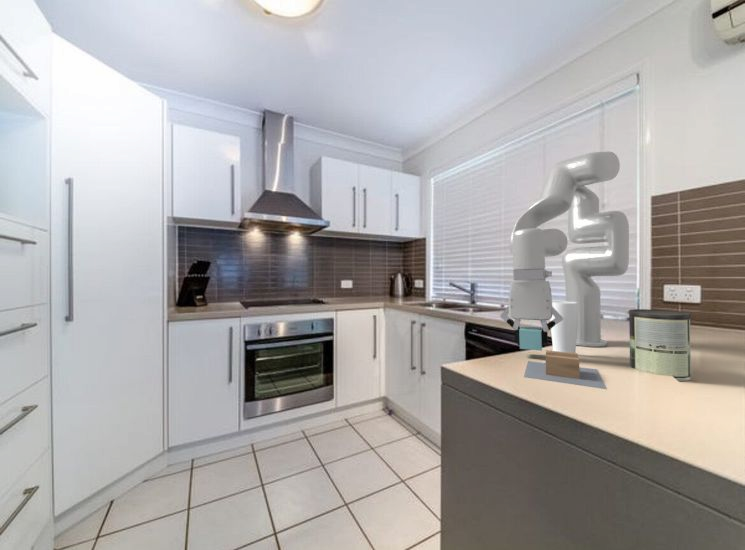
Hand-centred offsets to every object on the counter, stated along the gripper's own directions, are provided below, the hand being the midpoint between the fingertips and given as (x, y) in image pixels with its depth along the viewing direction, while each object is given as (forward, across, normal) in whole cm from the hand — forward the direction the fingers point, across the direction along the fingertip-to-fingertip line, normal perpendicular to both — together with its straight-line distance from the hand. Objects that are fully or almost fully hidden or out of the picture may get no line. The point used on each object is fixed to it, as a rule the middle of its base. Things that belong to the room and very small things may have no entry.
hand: (531, 344), depth 80 cm
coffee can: (+5, -26, -2) cm, 26 cm away
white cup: (+5, -8, -9) cm, 13 cm away
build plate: (+4, -6, +12) cm, 14 cm away
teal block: (+1, 0, 0) cm, 1 cm away
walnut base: (+3, -6, +12) cm, 14 cm away
